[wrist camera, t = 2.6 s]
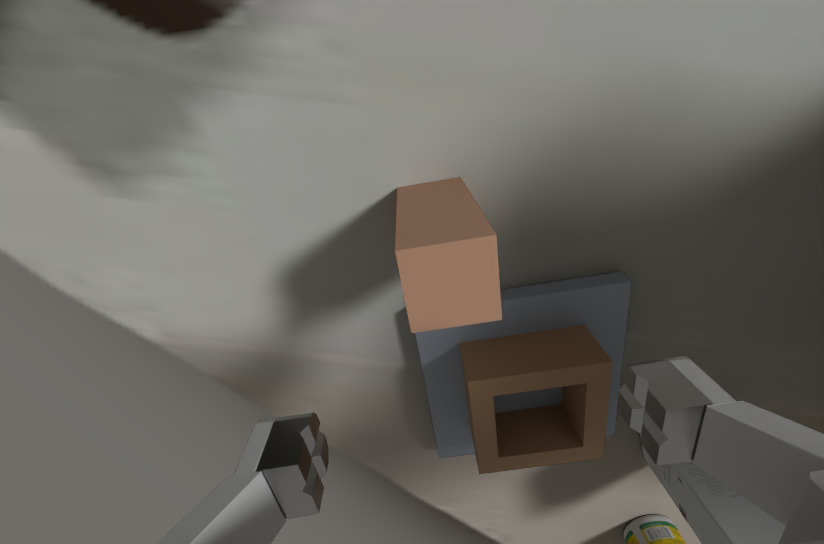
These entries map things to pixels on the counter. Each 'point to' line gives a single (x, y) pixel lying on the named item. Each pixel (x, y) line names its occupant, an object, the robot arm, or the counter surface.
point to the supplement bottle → (652, 531)
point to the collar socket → (531, 375)
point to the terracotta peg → (446, 257)
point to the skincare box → (715, 506)
